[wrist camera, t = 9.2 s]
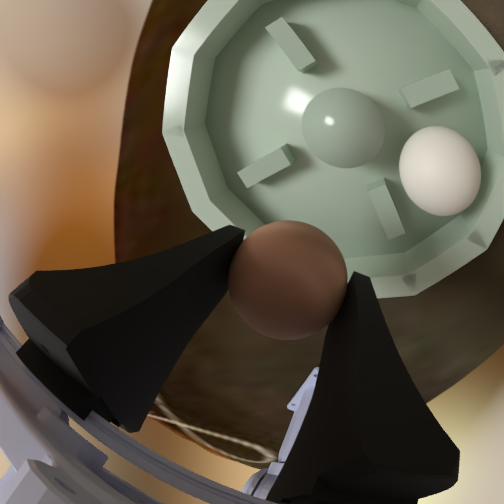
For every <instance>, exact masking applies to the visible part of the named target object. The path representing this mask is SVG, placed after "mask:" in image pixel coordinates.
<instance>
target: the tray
mask: <svg viewBox="0 0 504 504" xmlns="http://www.w3.org/2000/svg"><path fill="white" fill-rule="evenodd" d="M430 126H442V127H446V128H450V129H452V130H454V131H456V132H458V133H459V134H461V135H462V136H463V137H464V138H465V139H466V140H467V141H468V142H469V143H470V144H471V146H472V147H473V149H474V151H475V152H476V154H477V157H478V159H479V163H480V168H481V183H480V187H479V191H478V193H477V196H476V197H475V199H474V201H473V202H472V203H471V204H470V205H469V207H467V208H466V209H465V210H463V211H462V212H460V213H458V214H455V215H450V216H437V215H433V214H430V213H428V212H426V211H424V210H422V209H421V208H420V207H418V206H417V205H416V204H415V203H414V202H413V201H412V200H411V199H410V198H409V196H408V195H407V193H406V191H405V189H404V187H403V185H402V182H401V178H400V172H399V161H400V155H401V152H402V149H403V147H404V145H405V143H406V142H407V140H408V139H409V138H410V137H411V136H412V135H413V134H414V133H416V132H417V131H419V130H421V129H423V128H426V127H430ZM162 134H163V136H164V139H165V142H166V145H167V147H168V150H169V153H170V155H171V158H172V160H173V163H174V166H175V168H176V171H177V174H178V176H179V179H180V181H181V184H182V186H183V189H184V191H185V194H186V196H187V199H188V202H189V204H190V206H191V209H192V212H194V213H195V214H196V215H197V216H198V217H199V218H200V219H201V220H202V221H203V222H204V223H205V224H206V225H207V226H208V227H209V228H210V229H211V230H212V231H215V230H217V229H220V228H222V227H225V226H227V225H233V226H235V227H238V228H241V229H244V230H245V234H244V239H245V238H246V237H248V236H249V235H250V234H251V233H252V232H253V231H255V230H256V229H258V228H260V227H262V226H264V225H266V224H269V223H272V222H276V221H283V220H292V221H300V222H304V223H308V224H310V225H313V226H315V227H317V228H318V229H320V230H322V231H323V232H324V233H326V234H327V235H328V236H329V237H330V238H331V239H332V240H333V241H334V242H335V244H336V245H337V246H338V248H339V250H340V252H341V253H342V255H343V258H344V261H345V264H346V268H347V276H348V282H349V280H350V278H351V276H352V274H353V272H354V271H355V272H358V273H361V274H363V275H366V276H368V277H370V279H371V282H372V285H373V288H374V291H375V293H376V296H377V298H389V297H401V296H413V295H414V296H415V295H416V294H418V293H420V292H422V291H423V290H425V289H427V288H428V287H430V286H432V285H433V284H435V283H437V282H438V281H440V280H442V279H443V278H445V277H446V276H448V275H450V274H451V273H453V272H454V271H456V270H457V269H459V268H460V267H462V266H464V265H465V264H467V263H468V262H470V261H471V260H472V259H474V258H475V257H477V256H478V255H480V254H481V253H483V252H484V251H485V250H487V249H488V247H489V245H490V243H491V242H492V240H493V238H494V236H495V234H496V232H497V231H498V229H499V227H500V225H501V223H502V221H503V219H504V52H503V50H502V49H501V48H500V46H499V45H498V44H497V42H496V41H495V40H494V38H493V37H492V36H491V35H490V33H489V32H488V31H487V30H486V28H485V27H484V26H483V25H482V24H481V22H480V21H479V20H478V19H477V18H476V17H475V16H474V14H473V13H472V12H471V11H470V10H469V9H468V8H467V7H466V6H465V5H464V4H463V3H462V2H461V1H460V0H208V1H207V2H206V3H205V5H204V6H203V7H202V8H201V9H200V11H199V12H198V13H197V15H196V16H195V17H194V18H193V20H192V21H191V22H190V24H189V25H188V26H187V28H186V29H185V30H184V32H183V33H182V35H181V36H180V37H179V39H178V40H177V42H176V43H175V45H174V46H173V47H172V52H171V59H170V65H169V73H168V80H167V88H166V97H165V107H164V117H163V129H162ZM347 284H348V283H347Z"/></svg>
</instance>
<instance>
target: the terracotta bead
mask: <svg viewBox="0 0 504 504" xmlns="http://www.w3.org/2000/svg"><path fill="white" fill-rule="evenodd" d="M347 283H348V276H347V268H346V264H345V261H344V258H343V255H342V253H341V252H340V250H339V248H338V246H337V245H336V244H335V242H334V241H333V240H332V239H331V238H330V237H329V236H328V235H327V234H326V233H324V232H323V231H322V230H320V229H318V228H317V227H315V226H313V225H310V224H308V223H304V222H300V221H292V220H283V221H276V222H272V223H269V224H266V225H264V226H262V227H260V228H258V229H256V230H255V231H253V232H252V233H251V234H250V235H249V236H248V237H246V238H245V239H244V240H243V241H242V243H241V244H240V246H239V247H238V249H237V250H236V252H235V254H234V256H233V258H232V261H231V264H230V268H229V275H228V285H229V292H230V297H231V300H232V303H233V305H234V307H235V309H236V311H237V312H238V314H239V315H240V317H241V318H242V319H243V320H244V321H245V322H246V323H247V324H248V325H249V326H250V327H251V328H253V329H254V330H255V331H257V332H259V333H261V334H263V335H265V336H268V337H271V338H275V339H282V340H294V339H300V338H304V337H307V336H310V335H312V334H314V333H316V332H318V331H320V330H321V329H323V328H324V327H325V326H326V325H328V324H329V323H330V322H331V321H332V320H333V318H334V317H335V316H336V314H337V313H338V312H339V310H340V308H341V306H342V304H343V302H344V298H345V295H346V291H347Z"/></svg>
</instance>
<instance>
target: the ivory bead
mask: <svg viewBox="0 0 504 504" xmlns="http://www.w3.org/2000/svg"><path fill="white" fill-rule="evenodd" d="M399 172H400V178H401V182H402V185H403V187H404V189H405V191H406V193H407V195H408V196H409V198H410V199H411V200H412V201H413V202H414V203H415V204H416V205H417V206H418V207H420V208H421V209H422V210H424V211H426V212H428V213H430V214H433V215H437V216H450V215H455V214H458V213H460V212H462V211H463V210H465V209H466V208H467V207H469V205H470V204H471V203H472V202H473V201H474V199H475V197H476V196H477V193H478V191H479V187H480V183H481V168H480V163H479V159H478V157H477V154H476V152H475V151H474V149H473V147H472V146H471V144H470V143H469V142H468V141H467V140H466V139H465V138H464V137H463V136H462V135H461V134H459V133H458V132H456V131H454V130H452V129H450V128H446V127H442V126H430V127H426V128H423V129H421V130H419V131H417V132H416V133H414V134H413V135H412V136H411V137H410V138H409V139H408V140H407V142H406V143H405V145H404V147H403V149H402V152H401V155H400V161H399Z"/></svg>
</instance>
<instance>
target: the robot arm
mask: <svg viewBox="0 0 504 504" xmlns="http://www.w3.org/2000/svg"><path fill="white" fill-rule="evenodd" d="M244 234H245V230H244V229H241V228H238V227H235V226H233V225H227V226H225V227H222V228H220V229H217V230H215V231H213V232H210V233H208V234H206V235H203V236H201V237H198V238H196V239H194V240H191V241H189V242H186V243H184V244H181V245H178V246H175V247H173V248H170V249H167V250H164V251H162V252H159V253H155V254H152V255H149V256H145V257H142V258H138V259H134V260H130V261H125V262H120V263H115V264H110V265H105V266H99V267H92V268H84V269H74V270H54V271H36V272H35V273H34V274H32V275H31V276H30V277H29V278H27V279H26V280H25V281H24V282H23V283H21V284H20V285H19V286H18V287H17V288H16V289H14V290H13V291H12V292H11V293H10V294H9V302H10V305H11V307H12V309H13V311H14V313H15V315H16V317H17V319H18V321H19V322H20V324H21V326H22V327H23V329H24V331H25V332H26V334H27V336H28V337H29V339H28V340H27V341H26V342H25V343H24V345H22V344H21V343H20V342H19V341H18V340H17V339H16V337H15V336H14V335H13V334H12V333H11V332H10V330H9V329H8V328H7V327H6V326H5V324H4V322H3V320H2V318H1V316H0V449H1V451H2V452H3V454H4V455H5V457H6V458H7V460H8V461H9V463H10V464H11V466H10V467H9V469H8V470H7V472H6V473H5V474H4V475H3V477H2V478H1V480H0V504H165V503H163V502H161V501H159V500H157V499H155V498H153V497H151V496H149V495H148V494H146V493H144V492H142V491H140V490H139V489H137V488H135V487H133V486H132V485H130V484H129V483H127V482H125V481H124V480H122V479H121V478H119V477H117V476H116V475H114V474H113V473H111V472H110V471H108V470H107V469H105V468H104V467H103V465H104V464H105V462H106V461H107V460H108V457H107V455H105V454H104V453H103V452H101V451H100V450H99V449H97V448H96V447H94V446H93V445H92V444H91V443H90V442H88V441H87V440H86V439H84V438H83V437H82V436H81V435H79V434H78V433H77V432H76V431H75V430H74V429H72V428H71V427H70V426H69V422H68V421H69V418H68V416H69V417H70V418H71V419H73V420H74V421H75V422H76V423H77V424H79V425H80V426H81V427H82V428H84V429H85V430H86V431H87V432H88V433H90V434H91V435H92V436H94V437H95V438H96V439H98V440H99V441H100V442H102V443H103V444H104V445H106V446H107V447H108V448H110V449H111V450H113V451H114V452H116V453H117V454H119V455H120V456H122V457H123V458H125V459H126V460H128V461H129V462H131V463H133V464H134V465H136V466H137V467H139V468H140V469H142V470H144V471H146V472H148V473H149V474H151V475H152V476H154V477H156V478H158V479H160V480H161V481H163V482H165V483H167V484H169V485H171V486H173V487H175V488H177V489H179V490H181V491H183V492H185V493H187V494H189V495H192V496H194V497H196V498H198V499H200V500H203V501H205V502H208V503H210V504H417V503H418V499H420V498H424V497H427V496H430V495H433V494H437V493H440V492H442V491H444V490H447V489H449V488H451V487H452V486H453V485H454V484H455V483H456V482H457V481H458V473H459V460H460V450H459V449H458V448H457V446H456V445H455V444H454V443H453V441H452V440H451V439H450V437H449V436H448V435H447V434H446V432H445V431H444V430H443V428H442V427H441V426H440V424H439V423H438V421H437V420H436V418H435V417H434V415H433V414H432V412H431V411H430V409H429V408H428V407H427V405H426V403H425V401H424V400H423V398H422V397H421V395H420V393H419V391H418V390H417V388H416V386H415V384H414V383H413V381H412V379H411V377H410V375H409V373H408V371H407V369H406V367H405V365H404V363H403V361H402V359H401V357H400V355H399V353H398V351H397V349H396V346H395V344H394V341H393V339H392V337H391V334H390V332H389V329H388V327H387V324H386V322H385V319H384V316H383V314H382V311H381V308H380V305H379V302H378V299H377V296H376V293H375V291H374V288H373V285H372V282H371V279H370V277H368V276H366V275H363V274H361V273H358V272H355V271H354V272H353V274H352V276H351V278H350V280H349V282H348V284H347V291H346V295H345V298H344V302H343V304H342V306H341V308H340V310H339V312H338V313H337V314H336V316H335V317H334V318H333V320H332V321H331V322H330V323H329V326H328V329H327V332H326V336H325V341H324V346H323V351H322V356H321V361H320V366H319V367H316V368H314V369H313V371H312V372H311V374H310V375H309V377H308V378H307V379H306V381H305V382H304V384H303V385H302V386H301V388H300V389H299V390H298V392H297V393H296V394H295V396H294V397H293V398H292V400H291V401H290V402H289V404H288V406H287V408H288V409H290V410H293V411H295V412H294V414H293V417H292V420H291V423H290V425H289V428H288V431H287V433H286V436H285V439H284V441H283V444H282V446H281V449H280V452H279V460H278V463H277V462H271V465H270V467H269V469H266V468H265V469H262V470H260V471H258V472H257V473H255V474H253V475H252V476H251V477H250V479H249V480H248V481H247V482H246V484H245V486H244V487H243V489H242V491H241V492H240V491H237V490H234V489H232V488H229V487H226V486H224V485H221V484H219V483H217V482H214V481H212V480H209V479H207V478H205V477H203V476H201V475H198V474H196V473H194V472H192V471H190V470H188V469H186V468H184V467H182V466H180V465H178V464H176V463H174V462H172V461H170V460H168V459H166V458H164V457H163V456H161V455H159V454H157V453H156V452H154V451H152V450H150V449H149V448H147V447H146V446H144V445H142V444H140V443H139V442H137V441H136V440H134V439H133V438H131V437H130V436H128V435H126V434H125V433H123V432H122V431H120V430H119V429H118V428H116V427H115V426H113V425H112V424H110V422H112V423H113V424H115V425H116V426H118V427H121V428H123V429H124V430H126V431H127V432H129V433H133V432H138V431H140V429H141V427H142V424H143V422H144V420H145V418H146V416H147V414H148V412H149V411H150V409H151V407H152V405H153V403H154V401H155V399H156V397H157V395H158V393H159V392H160V390H161V388H162V386H163V384H164V383H165V381H166V379H167V377H168V376H169V374H170V372H171V370H172V369H173V367H174V365H175V363H176V362H177V360H178V359H179V357H180V355H181V354H182V352H183V350H184V349H185V347H186V345H187V344H188V342H189V341H190V340H191V338H192V337H193V335H194V334H195V333H196V332H197V330H198V329H199V328H200V326H201V325H202V324H203V323H204V321H205V320H206V319H207V317H208V316H209V315H210V314H211V312H212V311H213V310H214V308H215V307H216V306H217V304H218V303H219V302H220V300H221V299H222V298H223V296H224V295H225V294H226V292H227V290H228V289H229V285H228V275H229V268H230V264H231V261H232V258H233V256H234V254H235V252H236V250H237V249H238V247H239V246H240V244H241V243H242V241H243V240H244ZM67 415H68V416H67Z"/></svg>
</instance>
